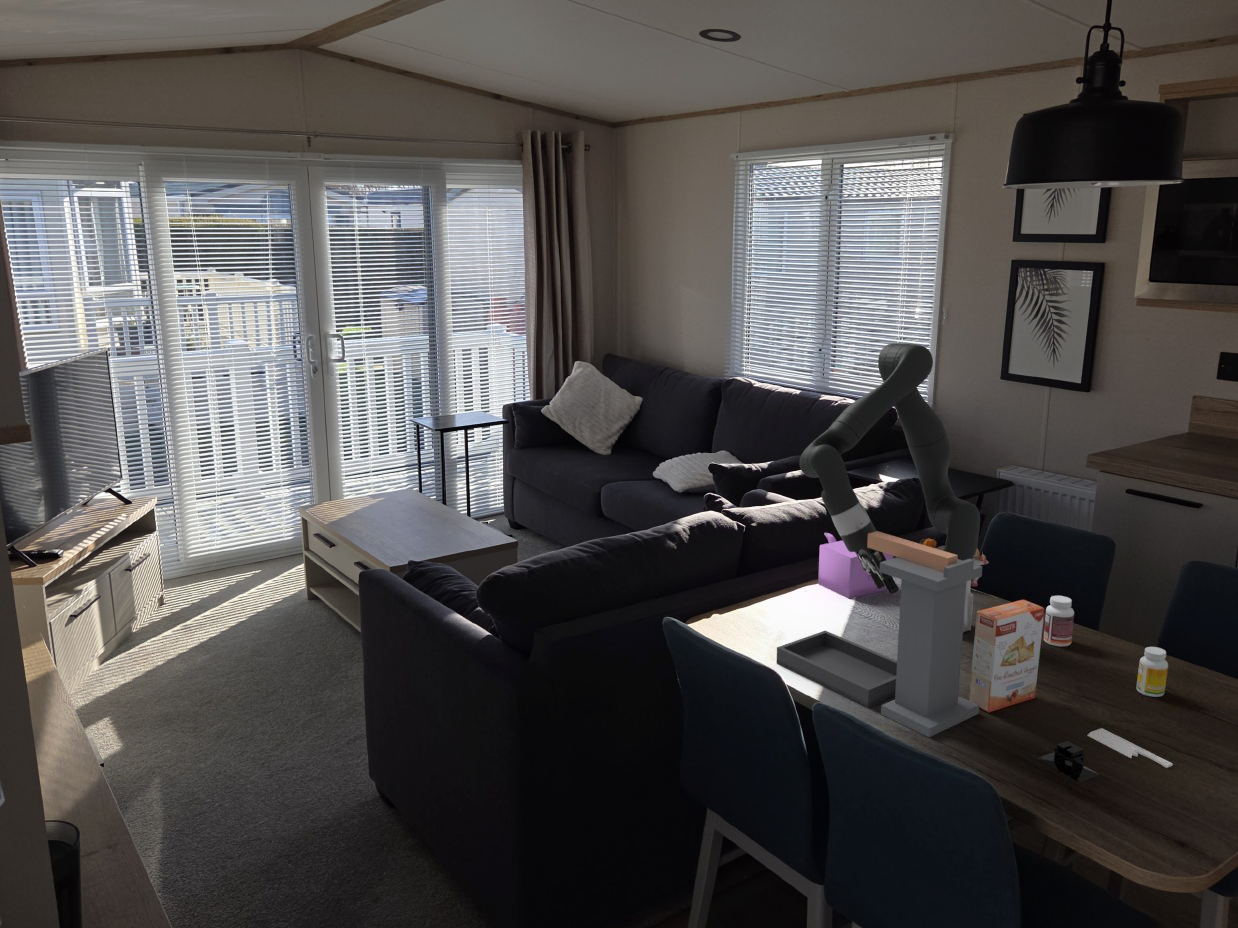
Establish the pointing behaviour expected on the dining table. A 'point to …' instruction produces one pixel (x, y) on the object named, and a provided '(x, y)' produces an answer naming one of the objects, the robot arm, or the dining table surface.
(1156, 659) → the supplement bottle
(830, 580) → the teapot
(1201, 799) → the dining table surface
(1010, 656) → the cracker box
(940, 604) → the stand
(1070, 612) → the pill bottle
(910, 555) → the bar
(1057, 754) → the black knife sharpener
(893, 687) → the tray
